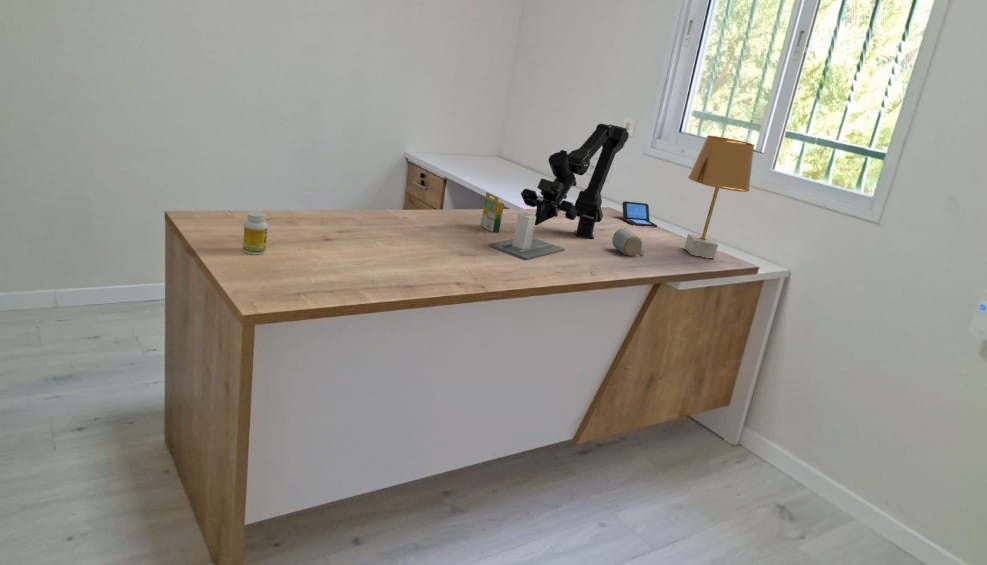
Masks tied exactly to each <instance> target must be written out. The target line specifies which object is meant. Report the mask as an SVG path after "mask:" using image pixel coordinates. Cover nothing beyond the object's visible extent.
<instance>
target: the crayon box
mask: <svg viewBox="0 0 987 565" xmlns="http://www.w3.org/2000/svg"><path fill="white" fill-rule="evenodd" d="M504 207H505V202H504V203H503V202H502V201H499V197H497V196H496V195H494V194H492V193H490V192H487V191H486V194H485V200H484V204H483V209H482V215H481V221H480V226H481V227H482V228H484V229H486V230H487V231H490V232H491V233H500V228H501V223H502V218H503V213H504Z"/></svg>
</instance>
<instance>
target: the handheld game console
mask: <svg viewBox="0 0 987 565" xmlns="http://www.w3.org/2000/svg"><path fill="white" fill-rule="evenodd" d="M621 204H622V221H624V222H625V223H626V224H628V223H629V225H630V224H631V225H630V226H633V225H635V227H644V226H654V227H653V228H655V227H656V228H658V224H656V223H654V222H652V221H650V207H649V204H648V203H643V202H634V201H626V200H625V201H624V200H623V201H622V203H621Z"/></svg>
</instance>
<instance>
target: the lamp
mask: <svg viewBox="0 0 987 565" xmlns="http://www.w3.org/2000/svg"><path fill="white" fill-rule="evenodd" d="M754 149H755V144H753V143H749V142H746V141H742V140H738V139H733V138H729V137H723V136H716V135H707V136H706V139H705V141H704V143H703V145H702V148H701V149H700V151H699V154H698V156H697V158H696V160H695V162H694V165H693V167H692V169H691V172H690V173H689V175H688V176H687V178H688V180H691V181H693V182H695V183H698V184H701V185H705V186H708V187H713V188H714V192H713V194H712V199H711V202H710V206H709V208H708V213H707V217H706V219H705V223H704V227H703V231H702V234H701V235H697V234H691V233H687V236H686V240H685V243H684V247H685V248H686V250H687V251H688V252H689V253H690V254H691V255H697V256H704V257H712V258H714V259H715V256H716V254H717V249H718V245H719V244H718V243H717V242H716V240H714V239H713V238H712V237H709V236H707V233H708V229H709V225H710V221H711V219H712V215H713V211H714V208H715V203H716V201H717V197H718V193H719V190H720V189H721V190H726V191H731V192H738V193H739V192H740V193H741V192H742V193H747V192H749V191H750V184H751V175H752V168H753V167H752V166H753V158H754ZM686 250H685V251H686ZM687 251H686V252H687ZM688 252H687V253H688ZM689 253H688V254H689ZM690 254H689V255H690ZM691 255H690V256H691Z"/></svg>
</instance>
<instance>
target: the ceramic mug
mask: <svg viewBox="0 0 987 565" xmlns="http://www.w3.org/2000/svg"><path fill="white" fill-rule="evenodd" d="M611 241H612V246H613V247H614V249H616V250H617V251H618V252H620V253H622V254H623V255H625V256H628V257H634V256H636V255H638V254H640V255H641V256H644V254H645V253H646V251H645V250H643V249H642V248H643V242H642V239H641V237H639V236H638V234H636V233H635V232H634V231H632V230H630V229H629V228H626V227H623V228H619V229H618V230H616V231H615V232H614V234H613V235H612V239H611Z"/></svg>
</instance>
